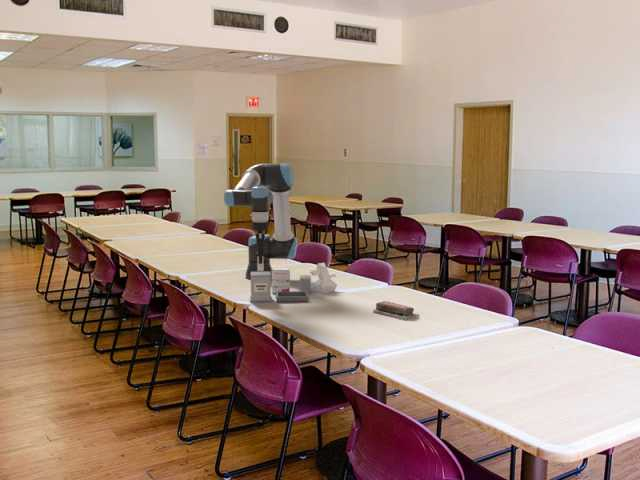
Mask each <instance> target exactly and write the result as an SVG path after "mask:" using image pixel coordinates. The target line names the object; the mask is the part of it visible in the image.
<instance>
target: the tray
mask: <svg viewBox="0 0 640 480" xmlns="http://www.w3.org/2000/svg"><path fill="white" fill-rule="evenodd" d="M308 294H309V293H307V292H306V291H300V290H299V291H293V290H292V291H290V292H276V294H275V300H276V303H308V302H309V295H308Z"/></svg>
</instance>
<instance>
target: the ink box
mask: <svg viewBox="0 0 640 480" xmlns="http://www.w3.org/2000/svg"><path fill="white" fill-rule="evenodd" d="M290 289H291V269H290V268H278V267H277V268H275V267H274V268H272V278H271V294H272V293H276V292H291V290H290Z"/></svg>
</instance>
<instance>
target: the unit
mask: <svg viewBox="0 0 640 480" xmlns="http://www.w3.org/2000/svg"><path fill="white" fill-rule="evenodd" d="M250 302H261V303H272V302H273V300H272V278H271V273H270V272H251V279H250V296H249V303H250Z"/></svg>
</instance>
